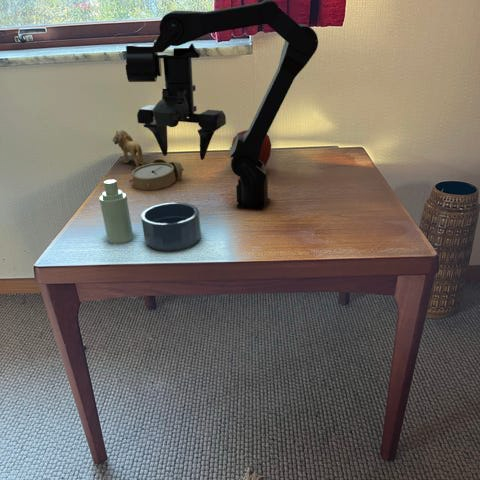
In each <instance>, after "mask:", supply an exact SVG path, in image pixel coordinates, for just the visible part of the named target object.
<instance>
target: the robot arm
mask: <svg viewBox="0 0 480 480" xmlns="http://www.w3.org/2000/svg"><path fill="white" fill-rule="evenodd" d="M260 25H267V26H268V27H270V28H271V29H272V30H273V31H274V32H275V33H276V34H278V35H279V36H280V37H281V38H282V39H283V40H284V43H283V46H282V49H281V53H280V57H279V62H278V66H277V68H276V71H275V73H274V75H273V76H272V78H271V81H270V84H269V86H268V88H267V89H266V92H265V94H264V96H263V97H262V100H261V102H260V105H259V107H258V108H257V111H256V113H255V115H254V117H253V119H252V121H251V123H250V125H249V127H248V129H246V130H247V132H246V133H245V134H244V135H243V136H242V135H240V134H239V132H237V133H236V135H237V136H236V135H235V136H236V139H235V142H234V144H233V145H232V144H231V146H230V147H229V157H230V167H231V170H232V173H234V174H235V175H236V176H238V177H239V178H238V179H237V185H236V186H235V189H236V190H235V191H236V192H235V193H236V202H237V204H236V208H238V209H247V210H257V211H263V210H264V209H265V208H266V207H267V205H268V204H269V203H270V202H271V198H270V197H269V186H268V185H269V184H268V183H269V182H268V181H269V180H268V179H269V178H268V177H267V172H266V166H265V167H264V164H263V163H262V162H261V161H260V160H259V158H260V154H261V150H262V146H263V141H264V139H265V137H266V135H268V132H269V131H270V129H271V127H272V125H273V123H274V120H275V119H276V116H277V114H278V112H279V111H280V108H281V107H282V105H283V102H284V100H285V99H286V96H287V95H288V93H289V91H290V88H291V87H292V84H293V83H294V80H295V78H296V77H297V76H298V75H299V74H300V73H301V71H302V70H303V69H304V68H305V67H306V66H307V65H308V63H309V62H310V61H311V59H312V58H313V56H314V55H315V54H316V52H317V49H318V46H319V38H318V34H317V32H316V31H315V29H313V28H312V27H311V26H309V25H307V24H304V23H297V22H296V20H294V19H293V18H292V17H290V15H288V14H287V13H286V12H285V11H284V10H283V9H281V8H280V6H279V5H278V3H276V1H274V0H263V1H260V2H255V3H248V4H244V5H236V6H232V7H226V8H225V7H224V8H219V9H214V10H209V11H197V10H171V11H169V12H167V13H166V14H165V15H164V16H163V17H162V18H161V20H160V23H159V34H158V36H157V39H155V40H154V41H153V45H137V44H127V45H126V46H125V50H126V52H125V65H124V66H125V73H126V78H127V81H128V83H156V82H157V81H158V77H162V75H163V74H162V73H163V72H164V87H163V88H162V92H161V94H162V95H161V99H160V100H159V101H157V103H156V104H155V105H153V104H148V105H146V106H143V107H141V108H139V109H138V110H137V113H136V119H137V123H138V124H143V125H142V126H143V128H146V129H148V130H149V131H150V132H151V133H152V134H153V136H154V138H155V140H156V142H157V145H158V147H159V149H160V151H161V153H162V155H163V156H164V157H166V156H168V150H169V149H168V147H169V146H168V145H169V144H168V127H169V128H175V127H177V126H178V125H179V122H181V123H191V124H192V123H193V124H197V125H198V126H199V127H200V128H199V129H198V130H197V133H198V135H199V158H200V160H201V161H203V160H205V158H206V155H207V152H208V149H209V146H210V143H211V141H212V138H213V136H214V134H215V132H216V131H218V130H219V129H221V128H222V127H224V126H225V125H226V123H227V117H226V114H225V112H224V111H223V110H217V109H206V110H205V111H203V112H201V113H196V112H197V105H195V103H194V92H196V90H197V89H196V84H195V85H194V84H193V64H192V63H193V61H192V59H198V58H200V57H201V51H199V49H197V48H196V47H195V45H194V43H190V42H192V41H194V40H197V39H199V38H202V37H204V36H207V35H209V34H214V33H220V32H227V31H232V30H238V29H243V28H250V27H256V26H260ZM187 43H190V45H189V46H188V47H179V46H182V45H185V44H187ZM171 46H172V47H173V51H172V52H169V53H168V52H167V53H166V50H167V49H168V48H170V47H171ZM162 61H163V70H162ZM162 71H163V72H162Z"/></svg>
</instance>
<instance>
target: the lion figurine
mask: <svg viewBox="0 0 480 480" xmlns="http://www.w3.org/2000/svg"><path fill="white" fill-rule="evenodd" d="M111 141H112V142H113V144H114V145H117V146H118V147H119V148H120V149H121V151H122V153H123V156H124V158H125V159H124V161H123V163H124V164H128V163H130V160H131V161H132V162H134V163H135V165H136V166H135V169H136V168H138V167H140V166H143V165H146V164H147V163H145V162H144V157H143V149H142V146H141V145H140V143H139V142H137V141H134V140H133V137H132V136H131V135H130V134H129V133H128V132H127V131H125V130H123V129H118V130H115V134H114V136H113V137H112V138H111ZM128 153H129V154H130V156H131V157H130V158H131V159H129V156H128ZM137 157H138V159H139V160H138V159H137ZM139 161H140V162H139ZM139 163H140V164H139Z"/></svg>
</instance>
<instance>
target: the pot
mask: <svg viewBox="0 0 480 480" xmlns="http://www.w3.org/2000/svg"><path fill="white" fill-rule="evenodd" d="M140 219H141V228H142V233H143V240H144V242H145V244H147V245H148V246H149V247H151V248H152V249H154V250H156V251H163V252H176V251H181V250H185V249H188V248H190V247H192V246H194V245H195V244H196V243H197V242H198V241H199V240H200V239H201V237H202V236H201V235H202V230H201V220H200V219H201V217H200V210H199V208H198V207H197V206H195V205H193V204H190V203H186V202H165V203H160V204H156V205H152V206H150V207H148V208H146V209H145V210H144V211H142V212H141V214H140Z"/></svg>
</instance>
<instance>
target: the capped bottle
mask: <svg viewBox="0 0 480 480" xmlns="http://www.w3.org/2000/svg"><path fill="white" fill-rule="evenodd" d="M103 186H104V190H103V192H102V193H101V195H100V196H99V197H98V199H99V204H100V209H101V213H102V219H103V224H104V229H105V234H106V239H107V242H109V243H110V244H114V245H119V244H120V245H121V244H125V243H128V242H130V241H132V240H133V239H134V231H133V227H132V220H131V214H130V208H129V203H128V197H127V193H125V192H123V191H122V190H121V189H119V188H118V181H117V180H116V179H106V180H104V181H103Z"/></svg>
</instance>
